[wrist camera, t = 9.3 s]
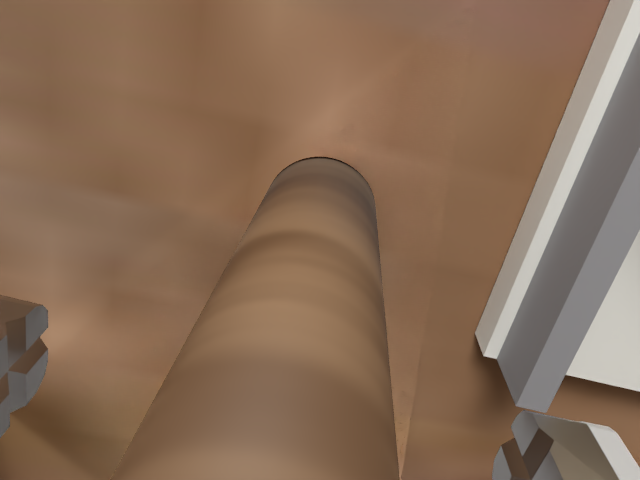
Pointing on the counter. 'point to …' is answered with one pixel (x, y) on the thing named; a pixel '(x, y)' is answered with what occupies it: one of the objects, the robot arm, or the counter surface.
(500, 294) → the rail base
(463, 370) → the counter surface
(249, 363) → the dowel
